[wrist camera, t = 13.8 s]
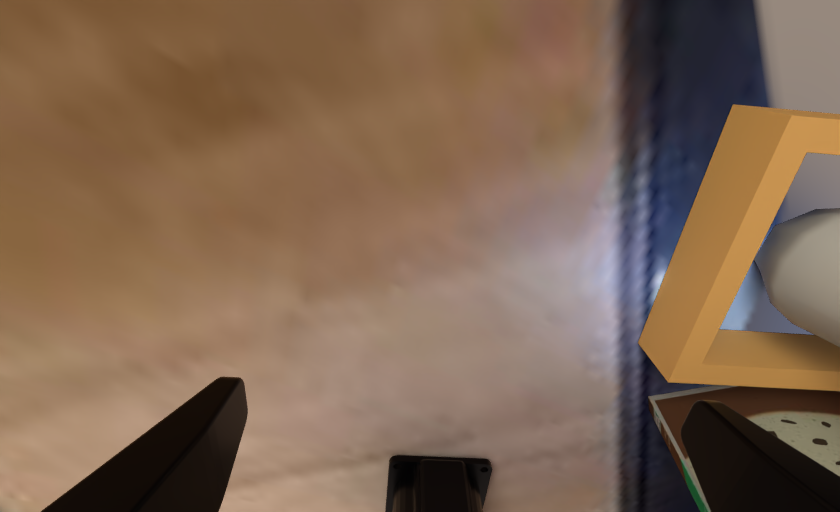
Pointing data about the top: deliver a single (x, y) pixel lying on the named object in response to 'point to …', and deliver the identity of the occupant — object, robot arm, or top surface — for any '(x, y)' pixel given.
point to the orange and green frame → (739, 260)
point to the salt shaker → (805, 271)
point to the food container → (757, 422)
